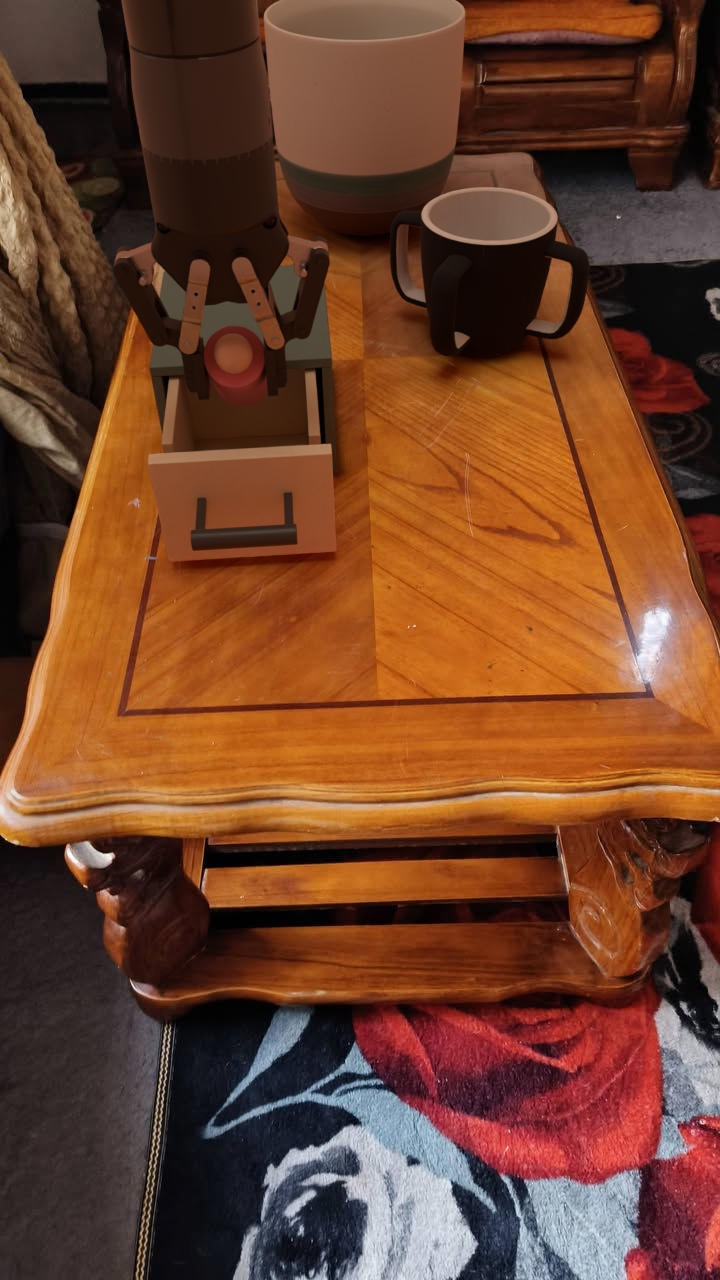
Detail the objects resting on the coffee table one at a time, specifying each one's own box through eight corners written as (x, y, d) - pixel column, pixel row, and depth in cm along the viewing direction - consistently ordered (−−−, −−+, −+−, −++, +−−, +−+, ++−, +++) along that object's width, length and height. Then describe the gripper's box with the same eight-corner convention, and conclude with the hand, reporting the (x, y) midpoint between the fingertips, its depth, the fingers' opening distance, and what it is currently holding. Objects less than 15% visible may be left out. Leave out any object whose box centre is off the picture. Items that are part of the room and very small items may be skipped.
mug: (584, 372, 89) (606, 244, 80) (415, 389, 88) (418, 261, 79) (535, 290, 100) (550, 170, 91) (384, 304, 99) (385, 184, 90)
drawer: (340, 597, 68) (336, 498, 61) (164, 608, 67) (141, 510, 61) (327, 438, 81) (322, 343, 74) (179, 446, 80) (162, 352, 74)
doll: (202, 383, 71) (186, 354, 63) (236, 338, 71) (224, 303, 63) (248, 418, 71) (238, 393, 63) (281, 372, 71) (276, 342, 63)
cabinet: (336, 473, 79) (331, 357, 71) (171, 482, 78) (148, 367, 71) (327, 372, 90) (322, 263, 82) (182, 380, 89) (163, 270, 81)
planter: (262, 258, 106) (242, 37, 91) (299, 185, 120) (286, -17, 105) (445, 268, 104) (456, 43, 88) (461, 193, 118) (473, -13, 102)
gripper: (71, 160, 52) (132, 428, 64) (334, 147, 52) (344, 416, 65) (88, 112, 57) (141, 369, 69) (327, 101, 57) (338, 358, 70)
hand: (239, 390), depth 67 cm, fingers closed on doll, 4 cm apart
